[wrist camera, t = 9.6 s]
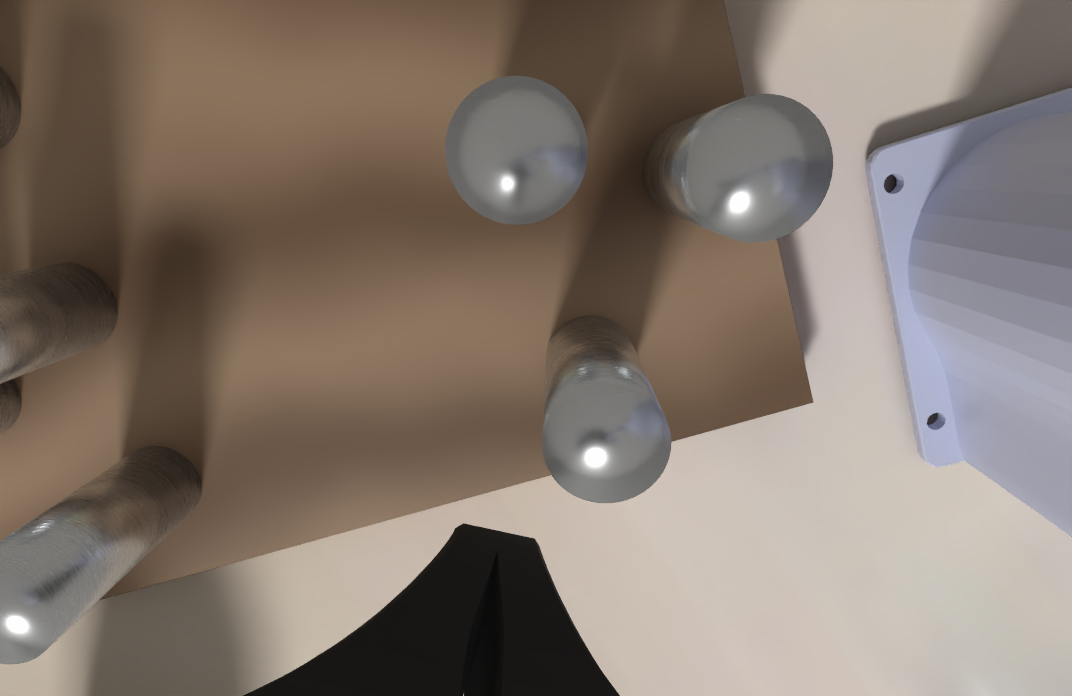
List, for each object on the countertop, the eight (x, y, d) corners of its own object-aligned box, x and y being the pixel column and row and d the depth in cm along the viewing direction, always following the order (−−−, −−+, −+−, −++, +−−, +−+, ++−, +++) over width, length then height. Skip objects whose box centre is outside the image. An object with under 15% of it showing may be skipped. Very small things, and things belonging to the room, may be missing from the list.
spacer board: (794, 385, 20) (813, 402, 19) (75, 586, 22) (43, 615, 21) (655, -222, 16) (664, -260, 15) (-192, 98, 19) (-254, 91, 17)
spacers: (781, 346, 18) (887, 429, 12) (29, 561, 21) (-178, 717, 15) (652, -211, 15) (714, -448, 9) (-220, 117, 17) (-607, 92, 12)
